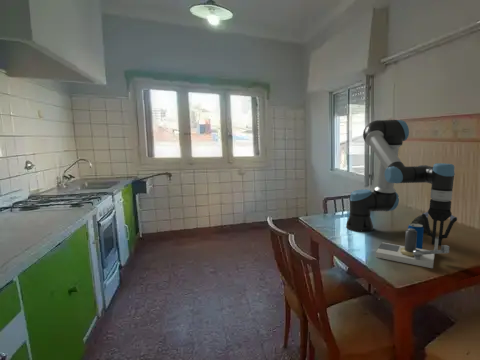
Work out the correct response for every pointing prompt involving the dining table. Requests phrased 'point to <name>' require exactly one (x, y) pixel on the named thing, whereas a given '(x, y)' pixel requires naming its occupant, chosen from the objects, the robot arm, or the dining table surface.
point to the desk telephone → (394, 254)
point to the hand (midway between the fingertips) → (435, 252)
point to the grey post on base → (409, 242)
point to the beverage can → (418, 234)
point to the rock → (420, 222)
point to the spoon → (432, 251)
